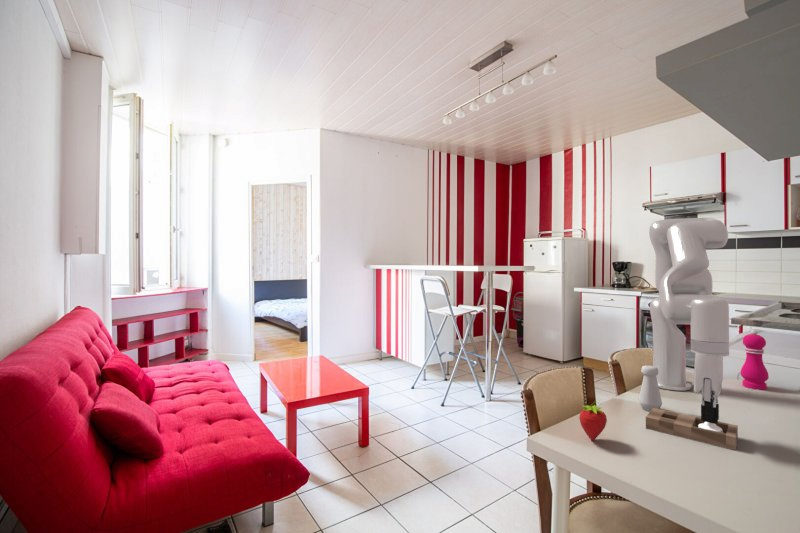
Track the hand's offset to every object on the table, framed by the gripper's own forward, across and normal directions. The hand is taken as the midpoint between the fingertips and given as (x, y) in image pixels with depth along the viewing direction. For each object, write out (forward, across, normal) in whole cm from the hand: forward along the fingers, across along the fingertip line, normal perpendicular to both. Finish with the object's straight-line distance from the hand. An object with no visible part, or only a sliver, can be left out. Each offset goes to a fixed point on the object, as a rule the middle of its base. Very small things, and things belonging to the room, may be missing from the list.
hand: (709, 419), depth 97 cm
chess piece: (+3, 0, 0) cm, 3 cm away
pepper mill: (+5, -59, +7) cm, 60 cm away
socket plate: (+4, 0, -4) cm, 6 cm away
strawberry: (+5, +21, -21) cm, 30 cm away
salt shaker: (+5, -11, -15) cm, 19 cm away
